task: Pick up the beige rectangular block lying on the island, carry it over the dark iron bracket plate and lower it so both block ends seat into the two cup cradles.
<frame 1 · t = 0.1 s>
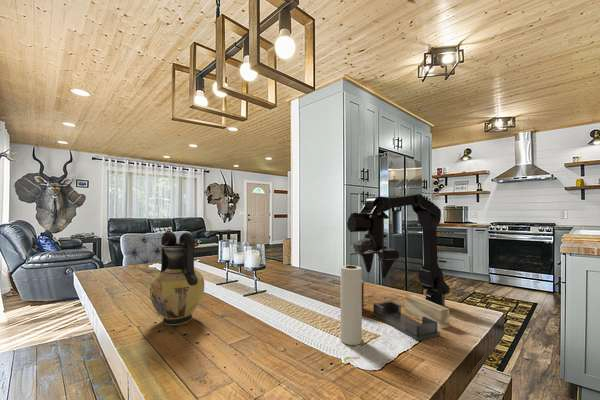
hand: (375, 275, 101), 15 cm above the table, fingers open, 9 cm apart
beige rectangular block: (425, 319, 99), on the table
amphora: (177, 321, 96), on the table
bracket: (402, 324, 94), on the table
paper towel roll: (351, 340, 82), on the table
canned food: (352, 309, 108), on the table
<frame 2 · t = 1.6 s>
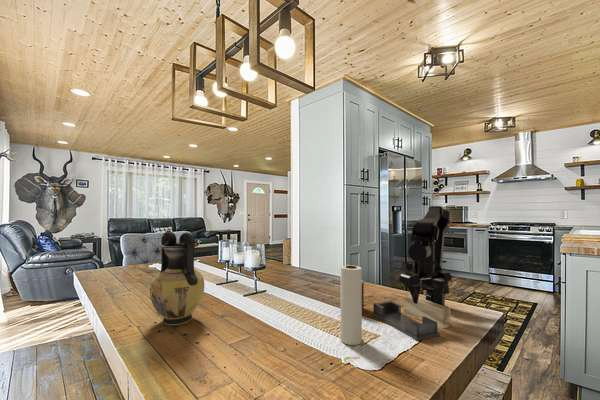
hand: (425, 301, 99), 6 cm above the table, fingers open, 9 cm apart
nothing on the table moved.
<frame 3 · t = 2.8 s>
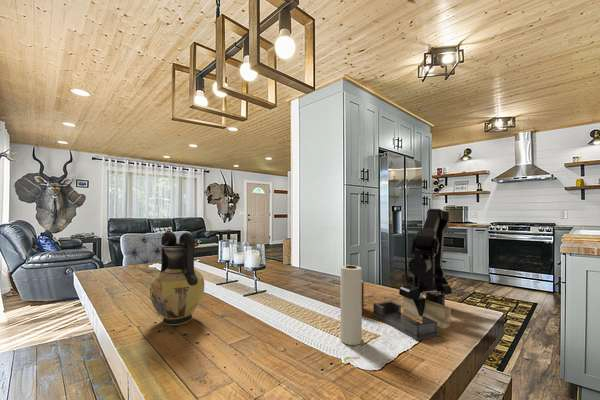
hand: (425, 315, 99), 1 cm above the table, fingers closed on beige rectangular block, 4 cm apart
beige rectangular block: (425, 318, 99), on the table, touching gripper
everything else where it was.
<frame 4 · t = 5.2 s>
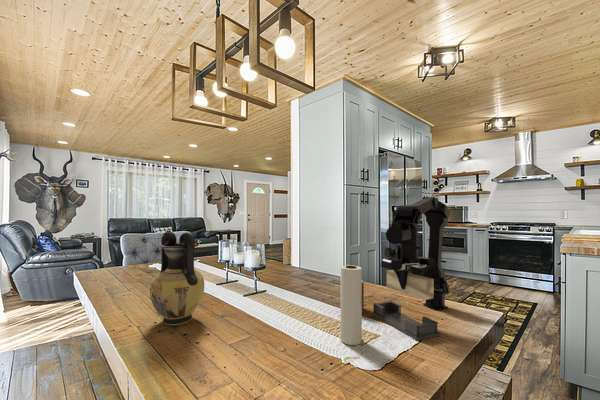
hand: (408, 288, 95), 11 cm above the table, fingers closed on beige rectangular block, 4 cm apart
beige rectangular block: (408, 292, 95), point 10 cm above the table, touching gripper
everything else where it was.
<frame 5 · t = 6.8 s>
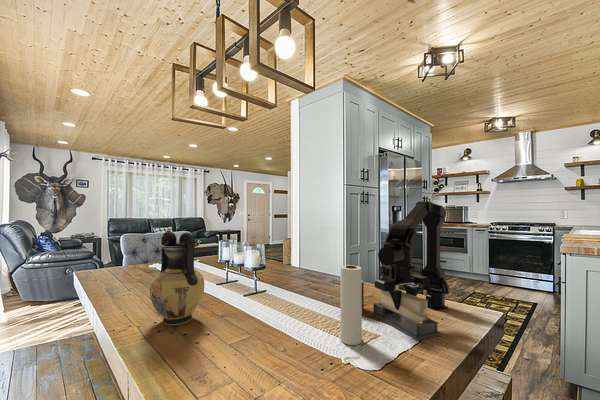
hand: (402, 308, 94), 5 cm above the table, fingers closed on beige rectangular block, 4 cm apart
beige rectangular block: (402, 312, 94), point 4 cm above the table, touching gripper
everything else where it was.
when the fingers open (3 cm above the table, at t = 8.0 s): beige rectangular block drops 1 cm, resting on bracket.
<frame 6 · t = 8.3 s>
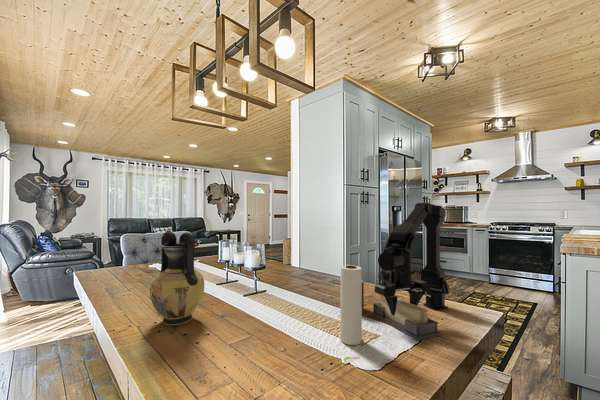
hand: (402, 313, 94), 3 cm above the table, fingers open, 8 cm apart
beige rectangular block: (402, 321, 94), point 1 cm above the table, touching bracket
everything else where it was.
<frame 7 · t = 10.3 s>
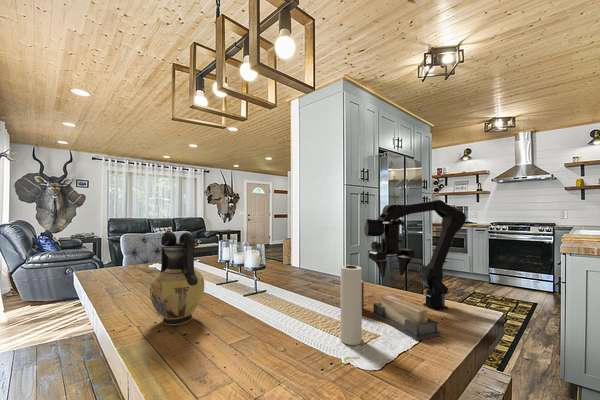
hand: (392, 276, 111), 12 cm above the table, fingers open, 9 cm apart
nothing on the table moved.
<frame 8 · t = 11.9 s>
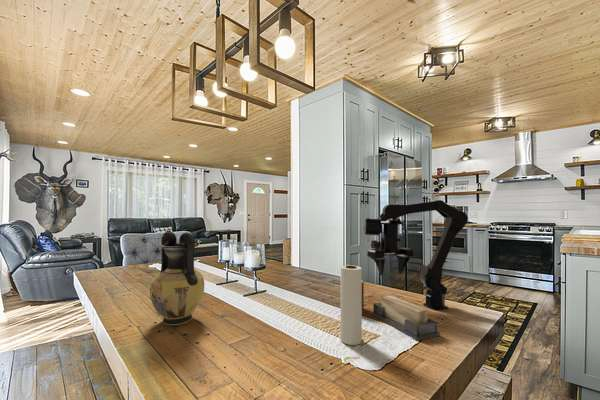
hand: (390, 274, 113), 12 cm above the table, fingers open, 9 cm apart
nothing on the table moved.
at the end: beige rectangular block 0.1 cm off-centre on the bracket, point 1.0 cm above the bracket's base; beige rectangular block tilted 0°; the gripper is holding nothing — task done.
